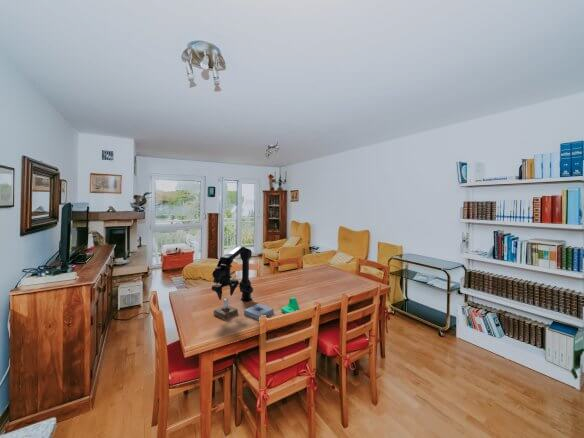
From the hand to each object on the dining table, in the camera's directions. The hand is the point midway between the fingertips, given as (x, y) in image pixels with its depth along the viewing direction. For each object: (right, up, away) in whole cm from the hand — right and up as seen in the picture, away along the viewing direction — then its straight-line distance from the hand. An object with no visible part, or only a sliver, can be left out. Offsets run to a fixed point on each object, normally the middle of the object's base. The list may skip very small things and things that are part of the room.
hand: (225, 297), depth 167 cm
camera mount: (+43, -12, +5) cm, 45 cm away
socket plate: (+22, -12, +2) cm, 25 cm away
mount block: (0, -11, +1) cm, 11 cm away
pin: (0, -11, +1) cm, 11 cm away
